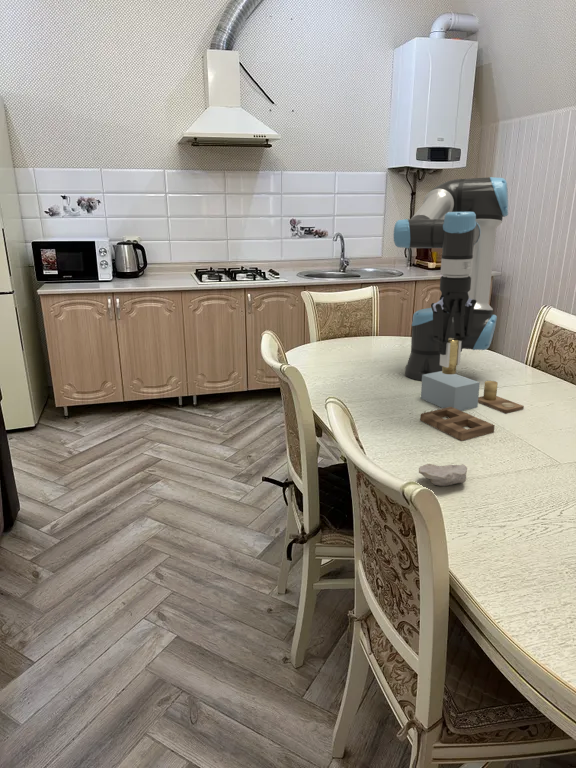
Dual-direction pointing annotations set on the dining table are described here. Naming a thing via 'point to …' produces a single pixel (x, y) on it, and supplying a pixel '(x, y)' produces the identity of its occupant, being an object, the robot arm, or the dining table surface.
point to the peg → (452, 357)
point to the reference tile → (497, 399)
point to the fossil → (444, 474)
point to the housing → (450, 390)
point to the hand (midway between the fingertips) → (449, 364)
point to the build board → (457, 423)
